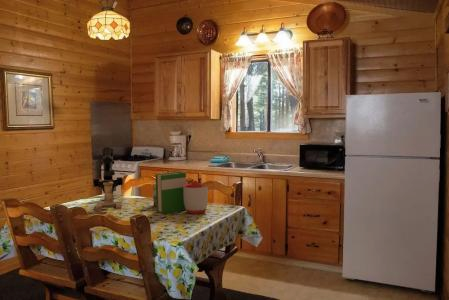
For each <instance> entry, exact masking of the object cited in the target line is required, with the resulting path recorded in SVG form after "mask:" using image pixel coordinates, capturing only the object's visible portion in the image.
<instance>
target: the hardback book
mask: <svg viewBox="0 0 449 300" xmlns="http://www.w3.org/2000/svg"><path fill="white" fill-rule="evenodd" d="M155 183H156V205H155V206H156V213H161V215H165V214H167V215H168V214H171V213H177V212H183V211H186V209H185V205H184V195H183V185H185V184H187V173H186V172H185V171H184V172H183V171H174V172H173V171H172V172H162V173H156V174H155Z"/></svg>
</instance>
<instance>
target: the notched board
mask: <svg viewBox="0 0 449 300" xmlns="http://www.w3.org/2000/svg"><path fill="white" fill-rule="evenodd" d="M122 206H123V201H122V200H120V201H119V200H118V201H117V200H116V201H114V202H112V203H104V201H103V202H102V201H101V202H97V204H96V206H95V211H97V212H98V211H102V210H103V208H114V207H115V209H116V210H122V208H123V207H122Z"/></svg>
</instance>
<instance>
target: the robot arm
mask: <svg viewBox="0 0 449 300" xmlns="http://www.w3.org/2000/svg"><path fill="white" fill-rule="evenodd" d="M114 152H115V151H114V148H112V147H111V146H105V147H103V148H102V149H101V156H102V160H101V165H102V167H103V176H102V179H100V178H98V177H97V178H94V179H93V181H92V182H93V183H92V184H93V187H95V188H96V187H98V188H100V189H101V190H102V193H104V185H103V182H113V184H112V189H113V193H114V192H116V191H117V187H119V186H123V185H124V184H123V183H124V182H123V177H121V176H120V177H119V176H118V177H116V179H114V178H113V176H115V169H113V165H115V160H114V159H113V157H114V154H115V153H114ZM113 200H114V201H115V197H113Z"/></svg>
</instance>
